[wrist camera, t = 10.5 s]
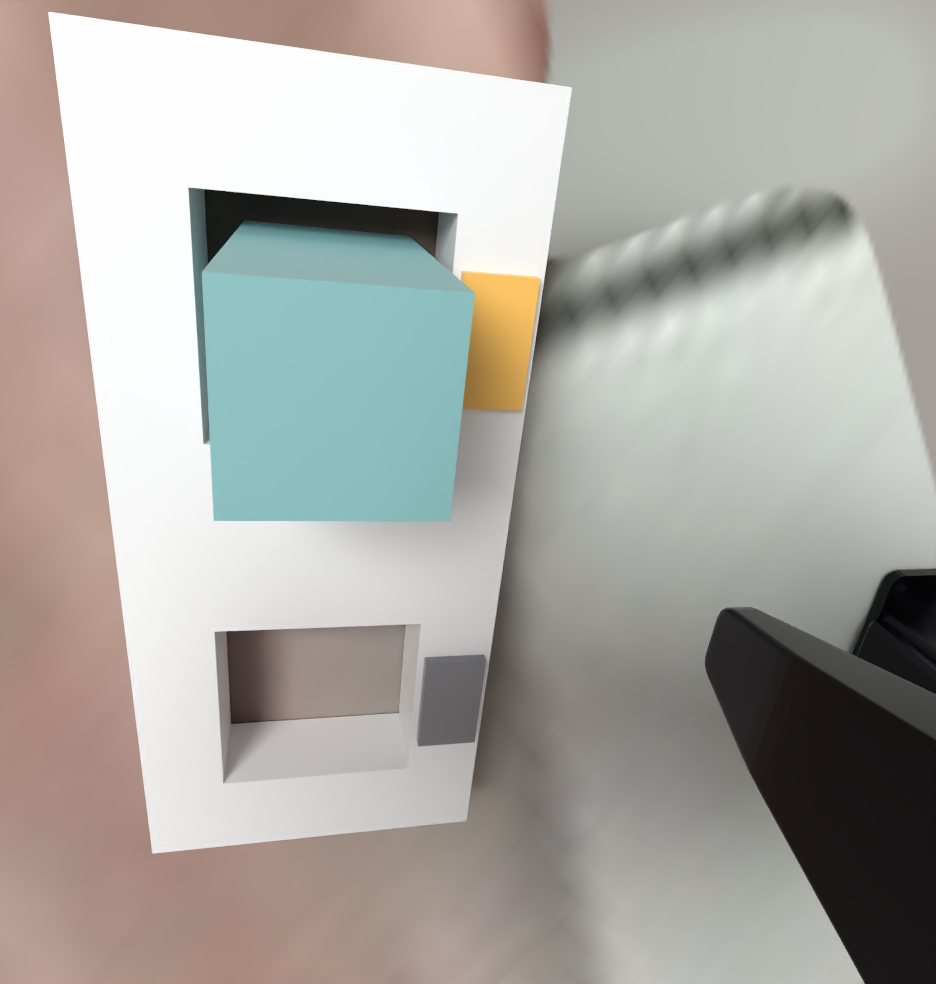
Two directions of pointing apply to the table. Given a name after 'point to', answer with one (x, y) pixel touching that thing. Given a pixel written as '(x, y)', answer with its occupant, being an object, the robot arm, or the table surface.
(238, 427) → the peg
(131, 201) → the socket plate
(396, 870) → the table surface
